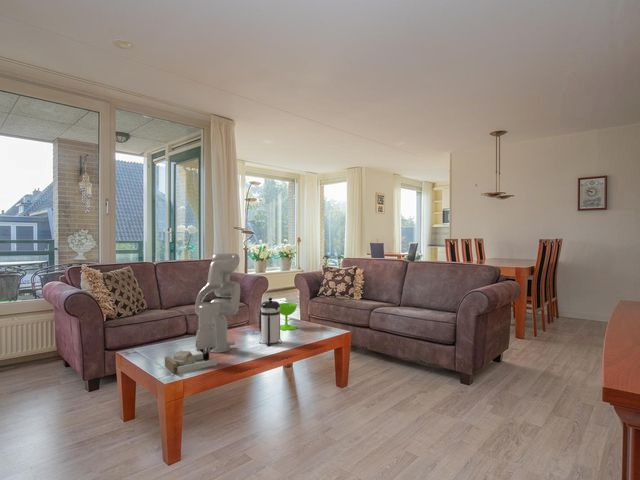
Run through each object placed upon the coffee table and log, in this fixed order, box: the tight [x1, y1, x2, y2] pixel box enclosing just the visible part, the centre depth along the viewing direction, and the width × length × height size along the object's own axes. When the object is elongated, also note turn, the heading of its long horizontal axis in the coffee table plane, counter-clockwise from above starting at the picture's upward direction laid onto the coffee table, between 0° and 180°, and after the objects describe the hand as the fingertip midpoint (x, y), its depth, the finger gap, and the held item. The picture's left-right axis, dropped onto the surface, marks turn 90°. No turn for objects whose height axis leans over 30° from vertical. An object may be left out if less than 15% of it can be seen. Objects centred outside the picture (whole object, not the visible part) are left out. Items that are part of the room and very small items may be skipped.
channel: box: [164, 352, 218, 375], centre depth 205 cm, size 23×16×5 cm
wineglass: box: [279, 302, 298, 332], centre depth 290 cm, size 16×16×18 cm
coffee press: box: [258, 297, 283, 347], centre depth 249 cm, size 17×16×30 cm
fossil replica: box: [172, 350, 196, 367], centre depth 202 cm, size 12×8×10 cm
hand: (206, 360), depth 210 cm, fingers closed
